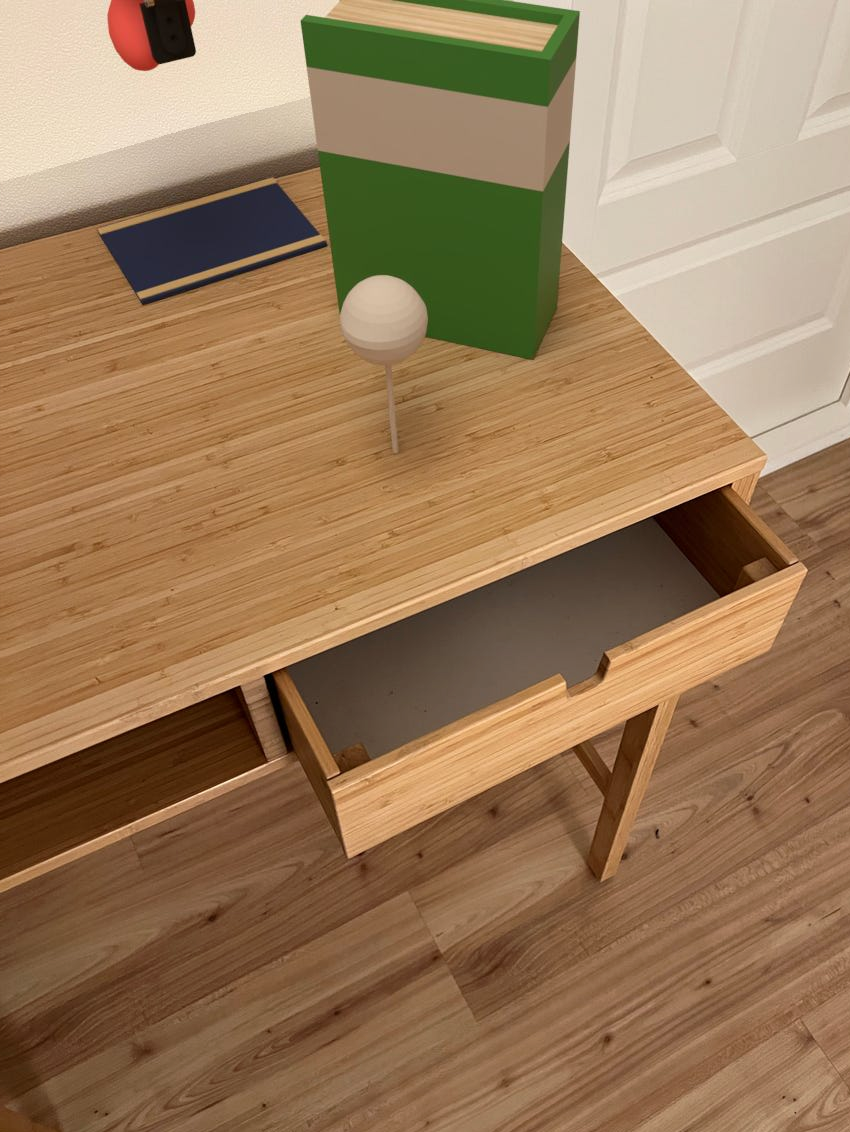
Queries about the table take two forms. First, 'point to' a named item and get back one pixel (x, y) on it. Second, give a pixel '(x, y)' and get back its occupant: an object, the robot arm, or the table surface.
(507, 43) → the hardback book
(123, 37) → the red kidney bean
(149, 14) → the robot arm
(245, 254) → the cloth
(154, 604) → the table surface
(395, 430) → the lollipop
